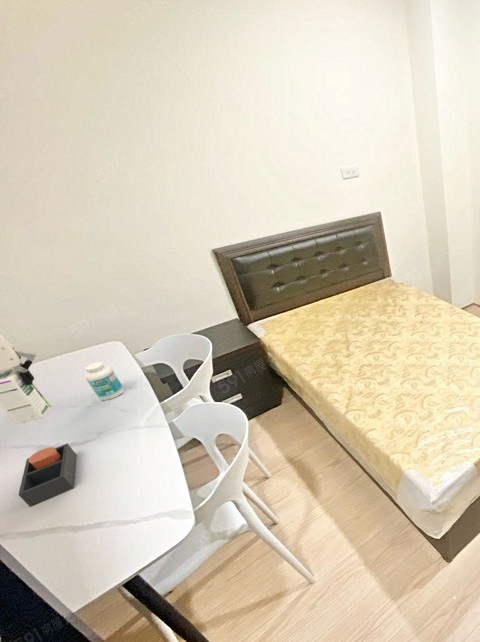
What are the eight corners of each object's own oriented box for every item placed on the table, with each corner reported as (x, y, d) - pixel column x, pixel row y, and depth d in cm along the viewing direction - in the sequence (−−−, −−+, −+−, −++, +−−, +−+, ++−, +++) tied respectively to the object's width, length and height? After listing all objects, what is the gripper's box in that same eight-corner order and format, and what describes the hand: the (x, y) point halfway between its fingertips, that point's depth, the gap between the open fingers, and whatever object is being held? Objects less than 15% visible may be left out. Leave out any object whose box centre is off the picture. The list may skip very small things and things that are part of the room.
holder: (31, 508, 108) (18, 495, 105) (38, 472, 119) (26, 458, 116) (75, 490, 113) (63, 476, 110) (78, 456, 124) (67, 443, 121)
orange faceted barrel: (42, 482, 114) (26, 465, 111) (44, 470, 118) (29, 454, 115) (68, 471, 118) (54, 454, 114) (69, 460, 121) (56, 444, 118)
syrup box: (44, 417, 114) (12, 377, 107) (15, 425, 111) (-19, 384, 104) (51, 406, 118) (21, 366, 111) (24, 413, 116) (-8, 373, 109)
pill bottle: (95, 402, 147) (74, 373, 140) (107, 390, 153) (88, 361, 147) (118, 398, 148) (99, 369, 142) (129, 387, 155) (111, 358, 148)
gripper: (-91, 352, 94) (-38, 409, 102) (14, 326, 104) (54, 381, 112) (-82, 340, 98) (-33, 396, 107) (18, 317, 109) (56, 370, 117)
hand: (12, 388), depth 110 cm, fingers closed on syrup box, 6 cm apart
